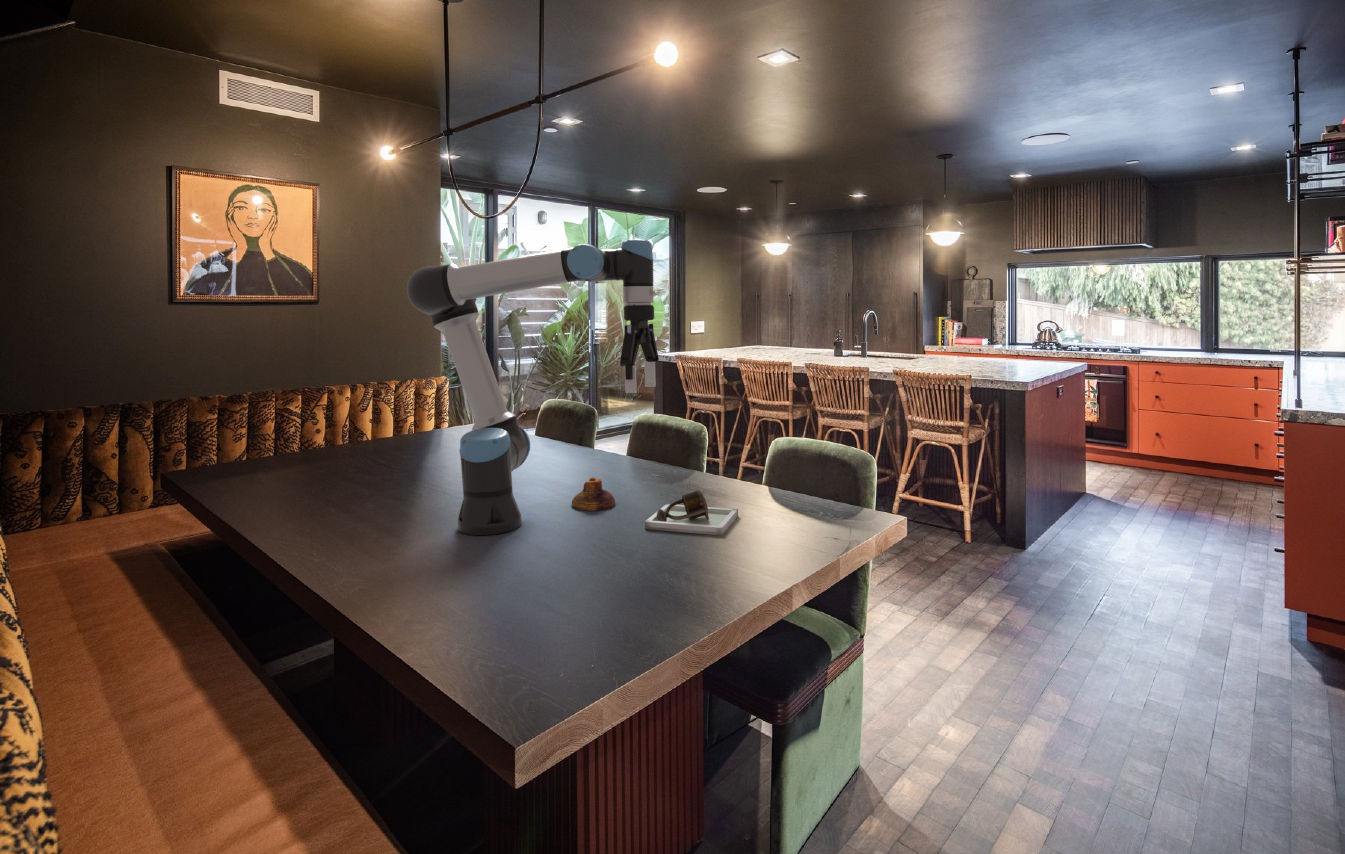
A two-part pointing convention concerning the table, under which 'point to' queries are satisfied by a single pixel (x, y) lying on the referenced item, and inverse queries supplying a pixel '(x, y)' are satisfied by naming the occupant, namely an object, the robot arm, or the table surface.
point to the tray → (694, 521)
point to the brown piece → (687, 507)
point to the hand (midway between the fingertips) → (641, 389)
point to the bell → (593, 497)
